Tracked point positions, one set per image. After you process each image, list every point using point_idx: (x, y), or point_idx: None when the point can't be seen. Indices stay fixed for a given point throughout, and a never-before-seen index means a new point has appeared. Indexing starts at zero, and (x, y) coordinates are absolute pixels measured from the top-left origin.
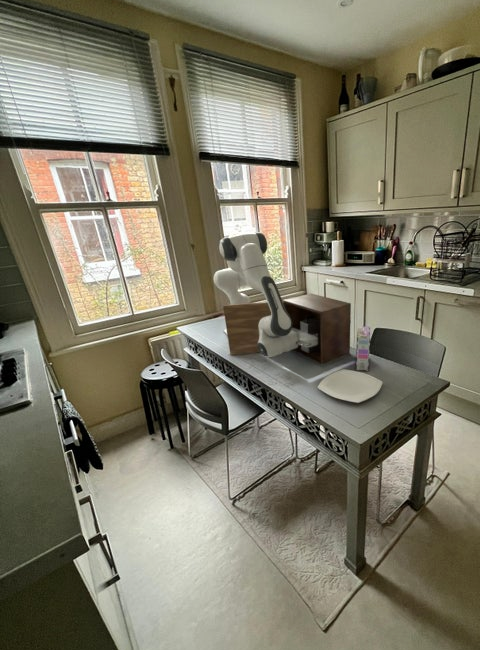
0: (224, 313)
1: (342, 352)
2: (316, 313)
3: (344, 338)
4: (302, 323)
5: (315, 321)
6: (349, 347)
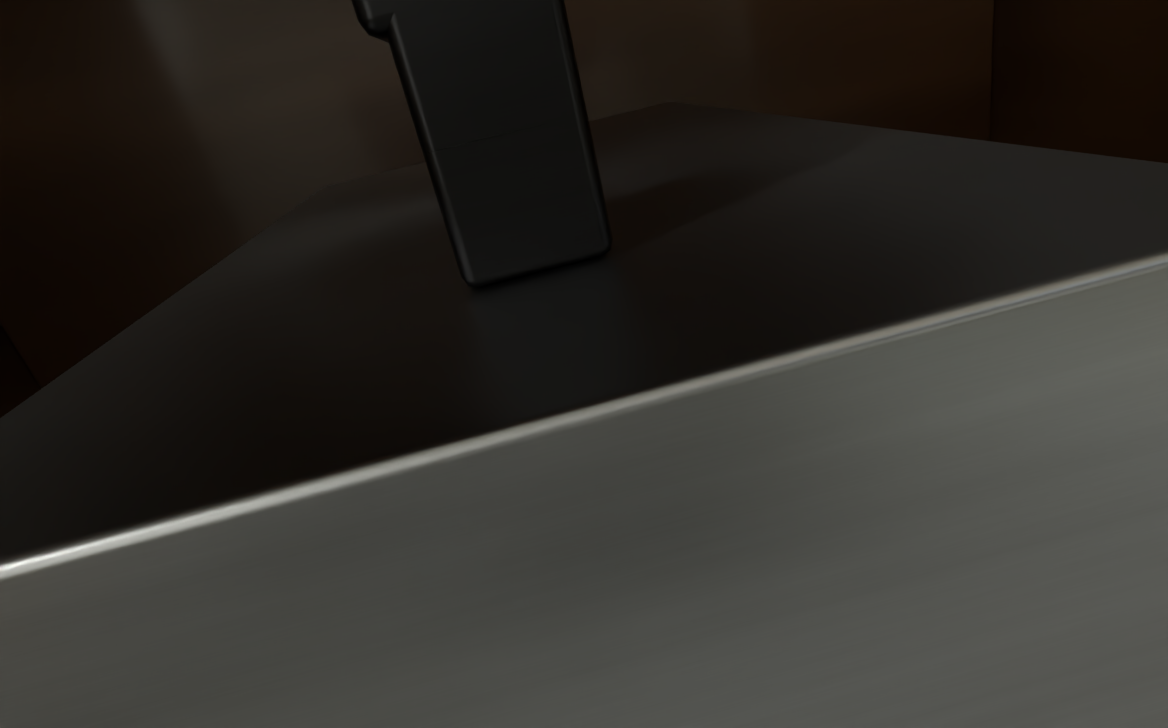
0: None
1: None
2: (153, 244)
3: None
4: (336, 659)
5: (772, 115)
6: None
